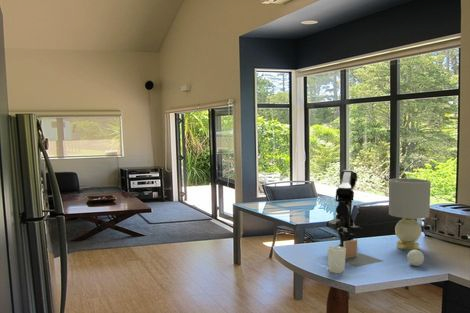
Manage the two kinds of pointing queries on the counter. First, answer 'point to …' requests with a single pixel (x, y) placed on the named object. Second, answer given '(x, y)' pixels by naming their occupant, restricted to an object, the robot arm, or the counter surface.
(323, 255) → the counter surface
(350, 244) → the tile
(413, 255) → the seamed sphere
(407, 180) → the lamp
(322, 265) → the counter surface
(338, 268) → the white cup
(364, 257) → the mat
